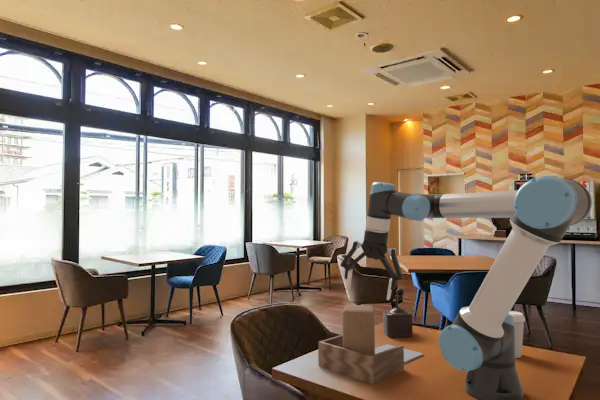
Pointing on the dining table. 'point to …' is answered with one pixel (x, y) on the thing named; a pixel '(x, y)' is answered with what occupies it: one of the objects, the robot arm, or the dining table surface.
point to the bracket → (360, 361)
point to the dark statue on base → (397, 319)
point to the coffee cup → (518, 332)
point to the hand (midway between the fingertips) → (367, 293)
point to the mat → (408, 354)
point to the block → (359, 329)
